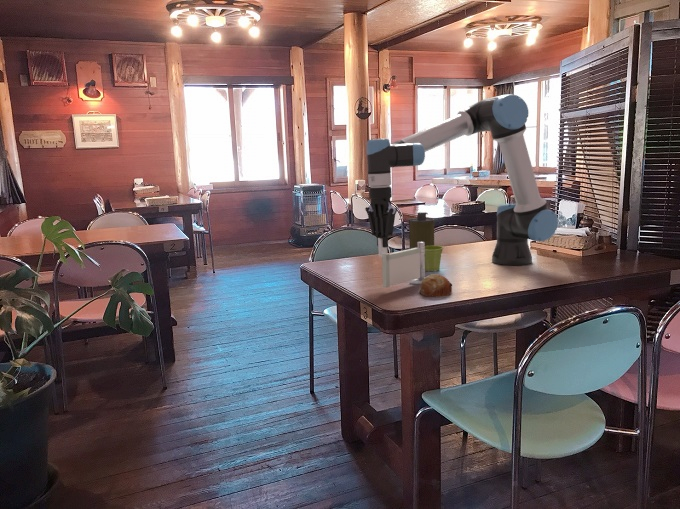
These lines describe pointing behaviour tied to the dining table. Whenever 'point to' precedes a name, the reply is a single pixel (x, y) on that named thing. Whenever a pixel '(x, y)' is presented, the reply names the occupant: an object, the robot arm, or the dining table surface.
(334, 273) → the dining table surface
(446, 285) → the bread roll
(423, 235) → the canister
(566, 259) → the dining table surface
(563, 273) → the dining table surface
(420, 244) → the gate post
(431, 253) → the plant pot
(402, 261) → the gate
